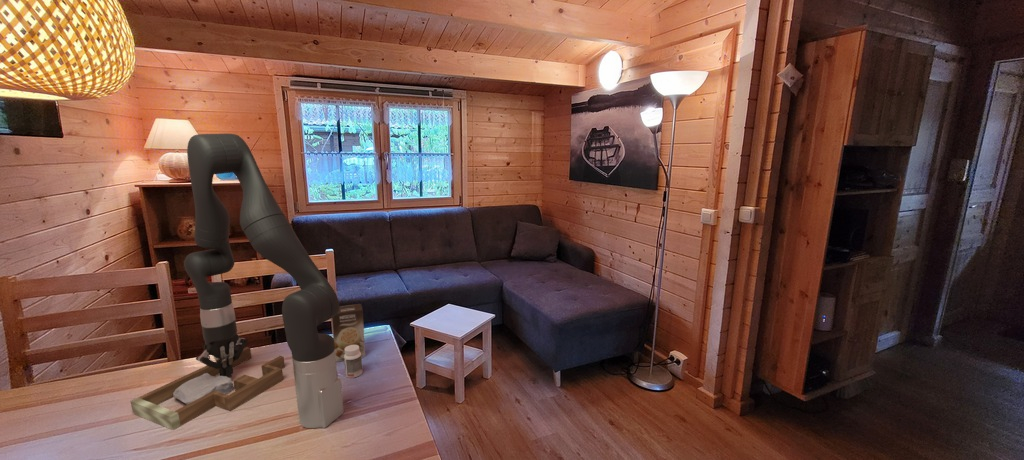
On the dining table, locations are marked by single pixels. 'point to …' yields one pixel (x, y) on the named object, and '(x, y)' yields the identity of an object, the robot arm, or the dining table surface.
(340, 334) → the coffee box
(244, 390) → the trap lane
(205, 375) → the stone block
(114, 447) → the dining table surface
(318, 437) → the dining table surface
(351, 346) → the pill bottle
